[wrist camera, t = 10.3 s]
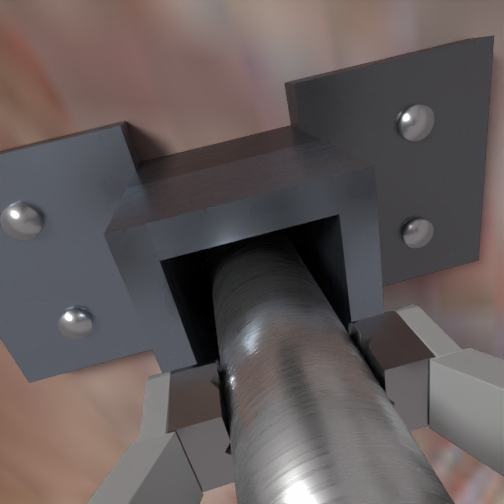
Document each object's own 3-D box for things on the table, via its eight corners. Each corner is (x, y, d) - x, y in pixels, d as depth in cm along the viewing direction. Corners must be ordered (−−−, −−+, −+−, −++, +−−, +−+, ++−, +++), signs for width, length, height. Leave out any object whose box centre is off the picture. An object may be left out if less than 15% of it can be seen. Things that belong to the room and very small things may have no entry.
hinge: (468, 38, 16) (699, 9, 9) (459, 247, 20) (607, 341, 13) (-77, 169, 15) (-323, 259, 8) (40, 361, 19) (-46, 531, 12)
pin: (283, 207, 13) (754, 851, 2) (296, 280, 14) (630, 902, 4) (198, 229, 13) (261, 1028, 2) (219, 301, 14) (326, 1017, 3)
